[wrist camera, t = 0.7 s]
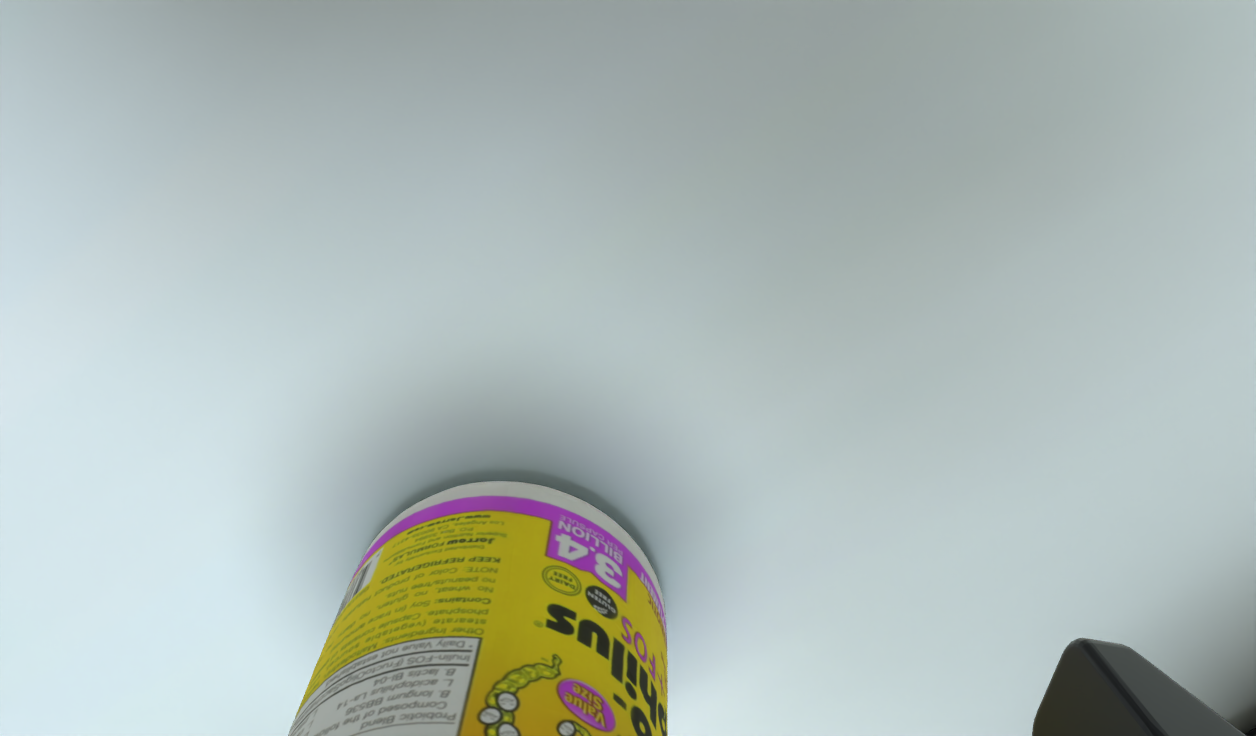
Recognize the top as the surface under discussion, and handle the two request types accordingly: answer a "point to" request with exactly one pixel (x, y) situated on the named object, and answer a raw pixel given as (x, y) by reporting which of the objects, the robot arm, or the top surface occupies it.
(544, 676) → the supplement bottle
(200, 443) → the top surface
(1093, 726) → the robot arm
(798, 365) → the top surface
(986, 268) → the top surface
